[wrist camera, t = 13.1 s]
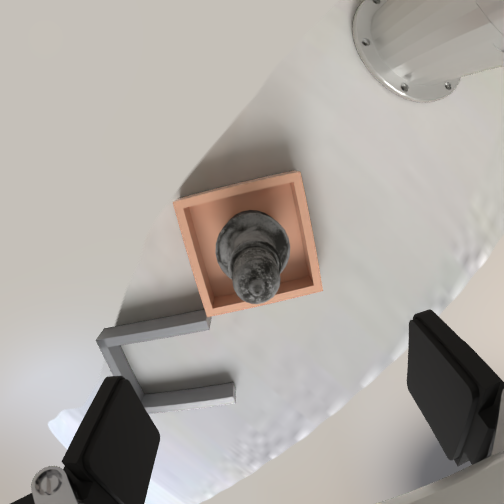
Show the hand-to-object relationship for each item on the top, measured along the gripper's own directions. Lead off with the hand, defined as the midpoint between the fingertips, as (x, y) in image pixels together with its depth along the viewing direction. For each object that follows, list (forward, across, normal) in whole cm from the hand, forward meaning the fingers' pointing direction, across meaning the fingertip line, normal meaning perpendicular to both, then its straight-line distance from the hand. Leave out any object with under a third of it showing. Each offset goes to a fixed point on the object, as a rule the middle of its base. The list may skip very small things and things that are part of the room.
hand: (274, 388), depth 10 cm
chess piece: (+20, 0, 0) cm, 20 cm away
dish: (+21, +1, 0) cm, 21 cm away
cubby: (+20, +11, +12) cm, 26 cm away
